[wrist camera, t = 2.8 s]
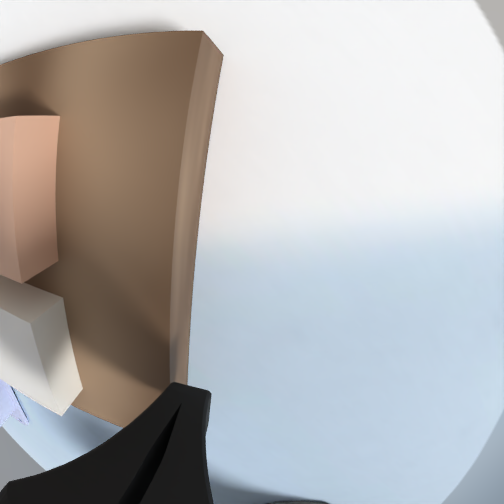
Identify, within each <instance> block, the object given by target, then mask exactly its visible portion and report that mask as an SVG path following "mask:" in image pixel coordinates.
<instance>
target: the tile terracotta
mask: <svg viewBox="0 0 504 504" xmlns="http://www.w3.org/2000/svg"><path fill="white" fill-rule="evenodd" d="M59 122H60V116H12V117H5V118H0V275H3V276H5V277H7V278H10V279H12V280H14V281H17V282H19V283H21V284H22V283H24V282H25V281H27V280H29V279H30V278H32V277H33V276H35V275H37V274H38V273H40V272H41V271H43V270H45V269H46V268H48V267H50V266H51V265H53V264H55V263H56V262H58V261H59V260H58V248H57V232H56V198H55V192H56V158H57V143H58V131H59Z"/></svg>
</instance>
